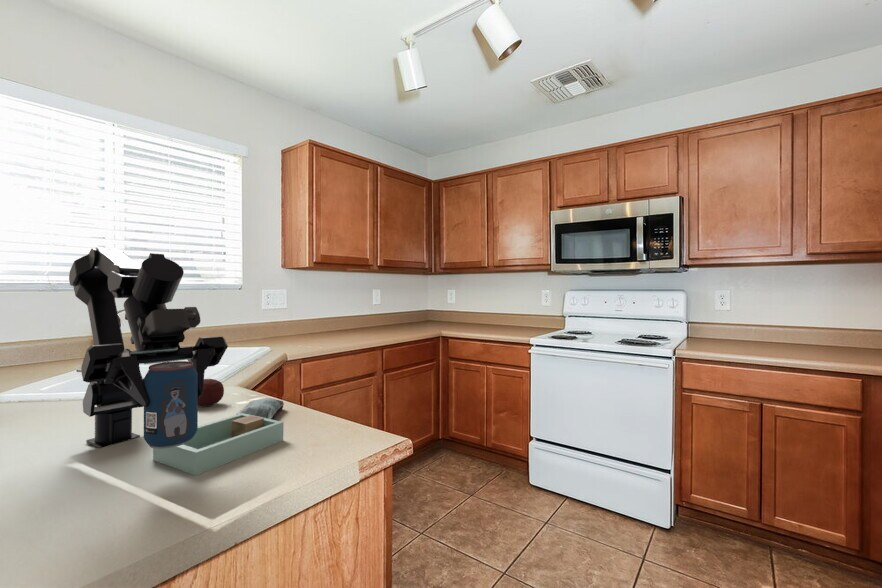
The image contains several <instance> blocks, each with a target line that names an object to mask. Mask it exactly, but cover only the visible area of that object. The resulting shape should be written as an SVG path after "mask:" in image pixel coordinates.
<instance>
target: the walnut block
mask: <svg viewBox="0 0 882 588" xmlns="http://www.w3.org/2000/svg"><path fill="white" fill-rule="evenodd" d="M262 427H264V418H260V417H256V416H251V415H249V416H246V417H243V418H239V419H236V420H233V421H232V438H233V437H236V436H239V435H241V434H244V433H247V432H250V431H253V430H256V429H259V428H262Z"/></svg>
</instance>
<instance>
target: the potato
mask: <svg viewBox="0 0 882 588" xmlns="http://www.w3.org/2000/svg"><path fill="white" fill-rule="evenodd" d="M224 394H225V387H224V384H223V383H222V382H221V381H219V380H218V379H213V378H204V384H203V394H202V396H201V397H198V407H205V408H206V407H211V406H214V405H216V404H217V403H219V402H220V401H221V400H222V399H223V397H224Z"/></svg>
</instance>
